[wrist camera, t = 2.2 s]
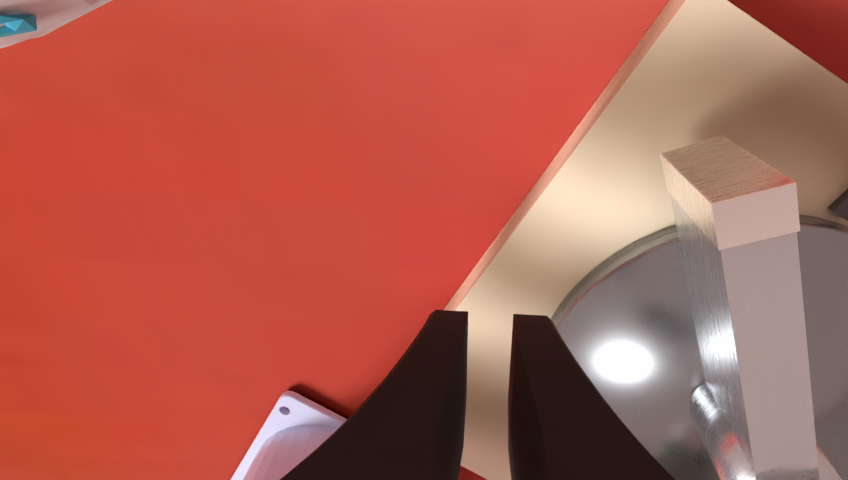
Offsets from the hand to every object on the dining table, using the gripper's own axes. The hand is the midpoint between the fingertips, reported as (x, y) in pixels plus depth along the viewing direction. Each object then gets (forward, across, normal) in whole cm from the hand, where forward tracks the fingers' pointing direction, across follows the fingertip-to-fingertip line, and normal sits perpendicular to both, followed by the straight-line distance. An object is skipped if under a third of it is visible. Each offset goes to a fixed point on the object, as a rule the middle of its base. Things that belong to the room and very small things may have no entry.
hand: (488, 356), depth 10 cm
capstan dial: (+9, -8, +6) cm, 14 cm away
